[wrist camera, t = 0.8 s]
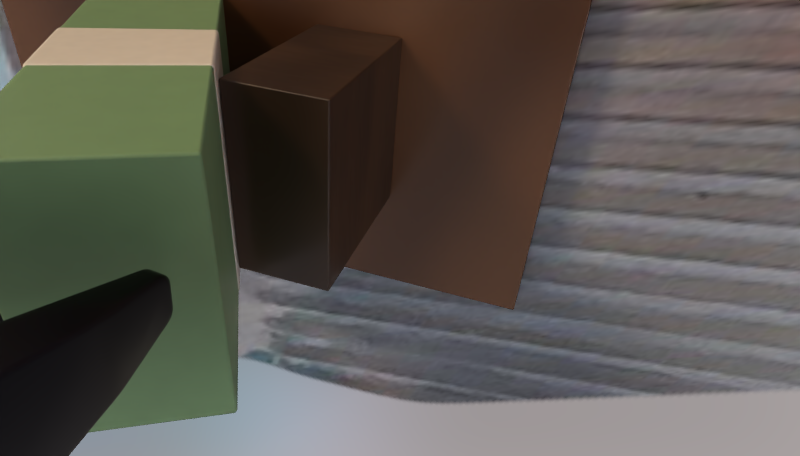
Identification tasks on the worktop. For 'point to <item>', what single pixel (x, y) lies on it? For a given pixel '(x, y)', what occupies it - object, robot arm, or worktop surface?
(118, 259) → the block
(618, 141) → the worktop surface
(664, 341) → the worktop surface
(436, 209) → the walnut board
